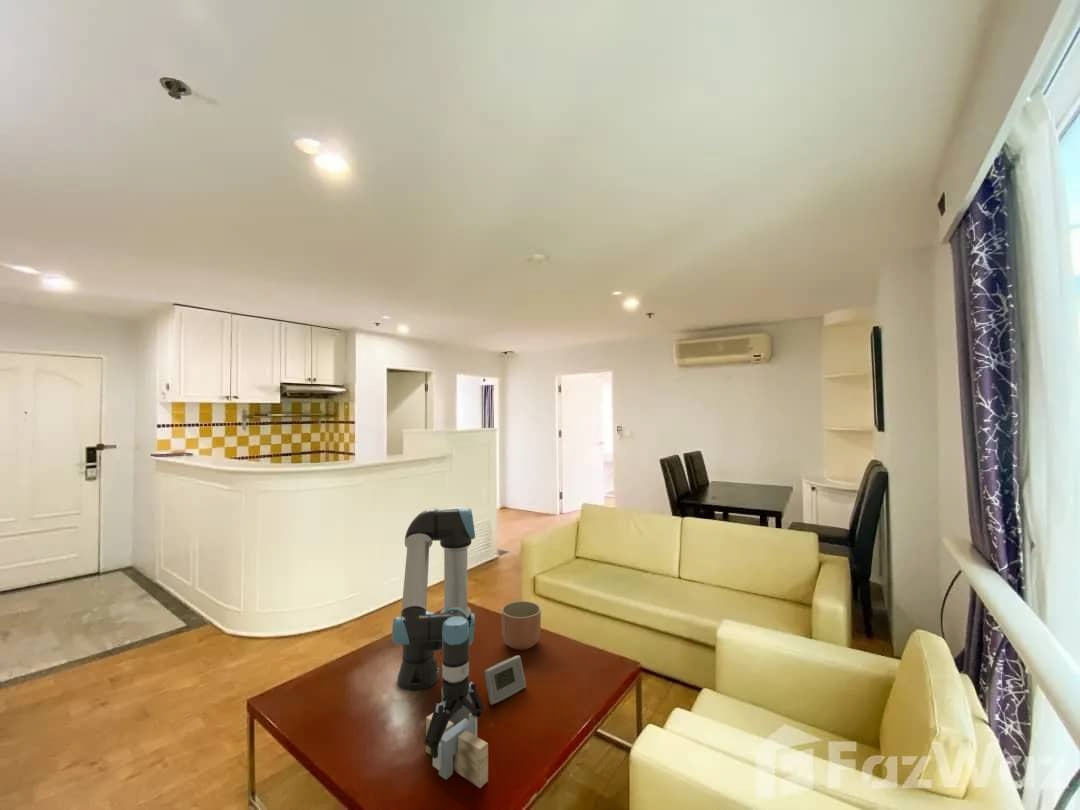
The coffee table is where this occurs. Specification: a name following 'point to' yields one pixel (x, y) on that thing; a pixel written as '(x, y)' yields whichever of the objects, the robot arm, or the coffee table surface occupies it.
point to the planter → (521, 624)
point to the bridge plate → (451, 746)
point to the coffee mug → (459, 711)
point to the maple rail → (468, 755)
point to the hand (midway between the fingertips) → (455, 752)
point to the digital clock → (504, 679)
